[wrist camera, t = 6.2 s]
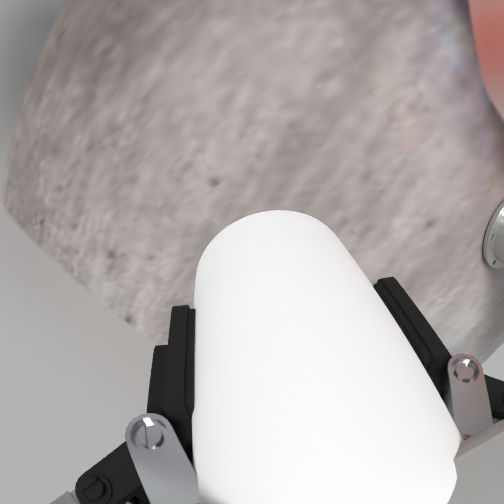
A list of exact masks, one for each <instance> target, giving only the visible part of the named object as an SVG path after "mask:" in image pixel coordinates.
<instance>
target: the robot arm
mask: <svg viewBox="0 0 504 504" xmlns="http://www.w3.org/2000/svg"><path fill="white" fill-rule="evenodd" d="M483 254H484V258H485V261H486V262H487V263H488V264H489V265H490V266H491V267H492V268H497V269H499V268H502V267H504V201H503V202H502V203H501V204H500V205H499V207H498V208H497V210H496V211H495V213H494V214H493V216H492V218H491V220H490V223H489V225H488V228H487V231H486V234H485V238H484V244H483ZM373 288H374V289H375V291H376V292H377V294H378V295H379V297H380V298H381V300H382V301H383V303H384V304H385V306H386V307H387V309H388V310H389V312H390V313H391V315H392V316H393V318H394V319H395V321H396V323H397V324H398V326H399V327H400V329H401V330H402V332H403V334H404V335H405V337H406V338H407V340H408V342H409V343H410V345H411V347H412V348H413V350H414V351H415V353H416V355H417V356H418V358H419V360H420V361H421V363H422V365H423V367H424V368H425V370H426V372H427V373H428V375H429V377H430V379H431V380H432V382H433V384H434V386H435V387H436V389H437V391H438V393H439V395H440V396H441V398H442V400H443V402H444V404H445V406H446V408H447V409H448V411H449V413H450V415H451V417H452V419H453V421H454V423H455V425H456V427H457V429H458V431H459V433H460V435H461V437H462V439H463V442H461V443H460V445H459V448H458V451H457V453H456V455H455V457H454V459H453V461H454V464H455V468H456V474H457V480H456V484H455V488H454V490H453V493H452V495H451V497H450V499H449V501H448V503H447V504H504V381H501V380H498V379H495V378H492V377H490V376H487V375H484V373H483V369H482V367H481V364H480V363H479V362H478V361H477V360H476V359H475V358H474V357H472V356H470V355H467V354H457V355H455V356H453V357H452V356H451V355H450V353H449V352H448V350H447V349H446V347H445V346H444V344H443V343H442V341H441V340H440V339H439V337H438V336H437V334H436V333H435V331H434V330H433V328H432V327H431V326H430V324H429V323H428V321H427V320H426V319H425V317H424V316H423V315H422V313H421V312H420V310H419V309H418V308H417V306H416V305H415V304H414V302H413V301H412V300H411V298H410V297H409V296H408V294H407V293H406V292H405V290H404V289H403V288H402V287H401V285H400V284H399V283H398V281H397V280H396V279H395V278H394V277H388V278H382V279H379V280H378V281H377V283H376V284H374V286H373ZM195 311H196V310H195V309H190V307H189V305H183V306H173V307H172V312H171V320H170V329H169V339H168V345H158V346H155V348H154V353H153V361H152V369H151V378H150V386H149V395H148V404H147V413H146V414H142V415H140V416H138V417H136V418H134V419H133V420H132V421H131V422H130V423H129V425H128V426H127V428H126V432H125V438H126V441H125V442H124V443H123V444H121V445H120V446H119V447H118V448H116V449H115V450H114V451H113V452H111V453H110V454H109V455H107V456H106V457H105V458H103V459H102V460H101V461H100V462H98V463H97V464H96V465H94V466H93V467H92V468H90V469H89V470H88V471H86V472H85V473H84V474H82V475H81V477H80V478H79V479H78V481H77V483H76V487H75V490H74V491H72V492H71V493H70V492H68V491H67V492H66V493H64V494H63V495H62V496H60V497H59V498H57V499H56V500H55V501H53V502H52V503H50V504H199V494H198V478H197V474H196V472H195V470H194V467H193V446H192V415H193V411H194V354H195Z"/></svg>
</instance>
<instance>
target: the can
mask: <svg viewBox="0 0 504 504" xmlns="http://www.w3.org/2000/svg"><path fill="white" fill-rule="evenodd" d="M194 309H195V310H196V311H195V354H194V411H193V415H192V446H193V467H194V470H195V472H196V474H197V478H198V494H199V504H447V503H448V501H449V499H450V497H451V495H452V493H453V490H454V488H455V484H456V480H457V474H456V468H455V464H454V461H453V459H454V457H455V455H456V453H457V451H458V448H459V445H460V443H461V442H463V439H462V437H461V435H460V433H459V431H458V429H457V427H456V425H455V423H454V421H453V419H452V417H451V415H450V413H449V411H448V409H447V408H446V406H445V404H444V402H443V400H442V398H441V396H440V395H439V393H438V391H437V389H436V387H435V386H434V384H433V382H432V380H431V379H430V377H429V375H428V373H427V372H426V370H425V368H424V367H423V365H422V363H421V361H420V360H419V358H418V356H417V355H416V353H415V351H414V350H413V348H412V347H411V345H410V343H409V342H408V340H407V338H406V337H405V335H404V334H403V332H402V330H401V329H400V327H399V326H398V324H397V323H396V321H395V319H394V318H393V316H392V315H391V313H390V312H389V310H388V309H387V307H386V306H385V304H384V303H383V301H382V300H381V298H380V297H379V295H378V294H377V292H376V291H375V289H374V288H373V286H372V285H371V283H370V282H369V280H368V279H367V277H366V276H365V275H364V273H363V272H362V270H361V269H360V268H359V266H358V265H357V263H356V262H355V260H354V259H353V258H352V256H351V255H350V254H349V252H348V251H347V249H346V248H345V247H344V245H343V244H342V243H341V241H340V240H339V239H338V238H337V236H336V235H335V234H334V233H333V232H332V231H331V230H330V229H329V228H328V227H327V226H326V225H325V224H323V223H322V222H320V221H319V220H317V219H315V218H313V217H311V216H308V215H306V214H302V213H299V212H294V211H285V210H275V211H266V212H260V213H256V214H253V215H250V216H247V217H244V218H242V219H240V220H238V221H236V222H234V223H232V224H231V225H229V226H228V227H226V228H225V229H224V230H222V231H221V232H220V233H219V234H218V235H217V236H216V237H215V238H214V239H213V240H212V241H211V242H210V243H209V245H208V246H207V248H206V249H205V251H204V253H203V254H202V257H201V259H200V261H199V264H198V268H197V273H196V281H195V296H194Z"/></svg>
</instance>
